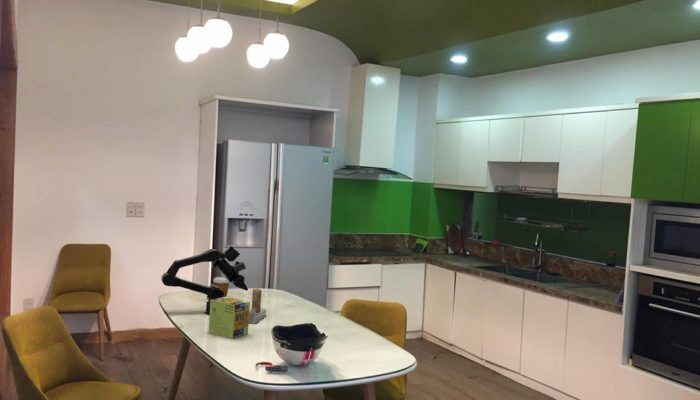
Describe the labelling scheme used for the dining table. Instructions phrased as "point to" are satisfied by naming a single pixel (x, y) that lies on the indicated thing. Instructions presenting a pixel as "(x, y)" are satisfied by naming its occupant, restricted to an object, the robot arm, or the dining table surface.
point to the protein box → (229, 317)
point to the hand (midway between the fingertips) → (245, 288)
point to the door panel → (256, 300)
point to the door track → (256, 316)
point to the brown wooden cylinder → (222, 284)
